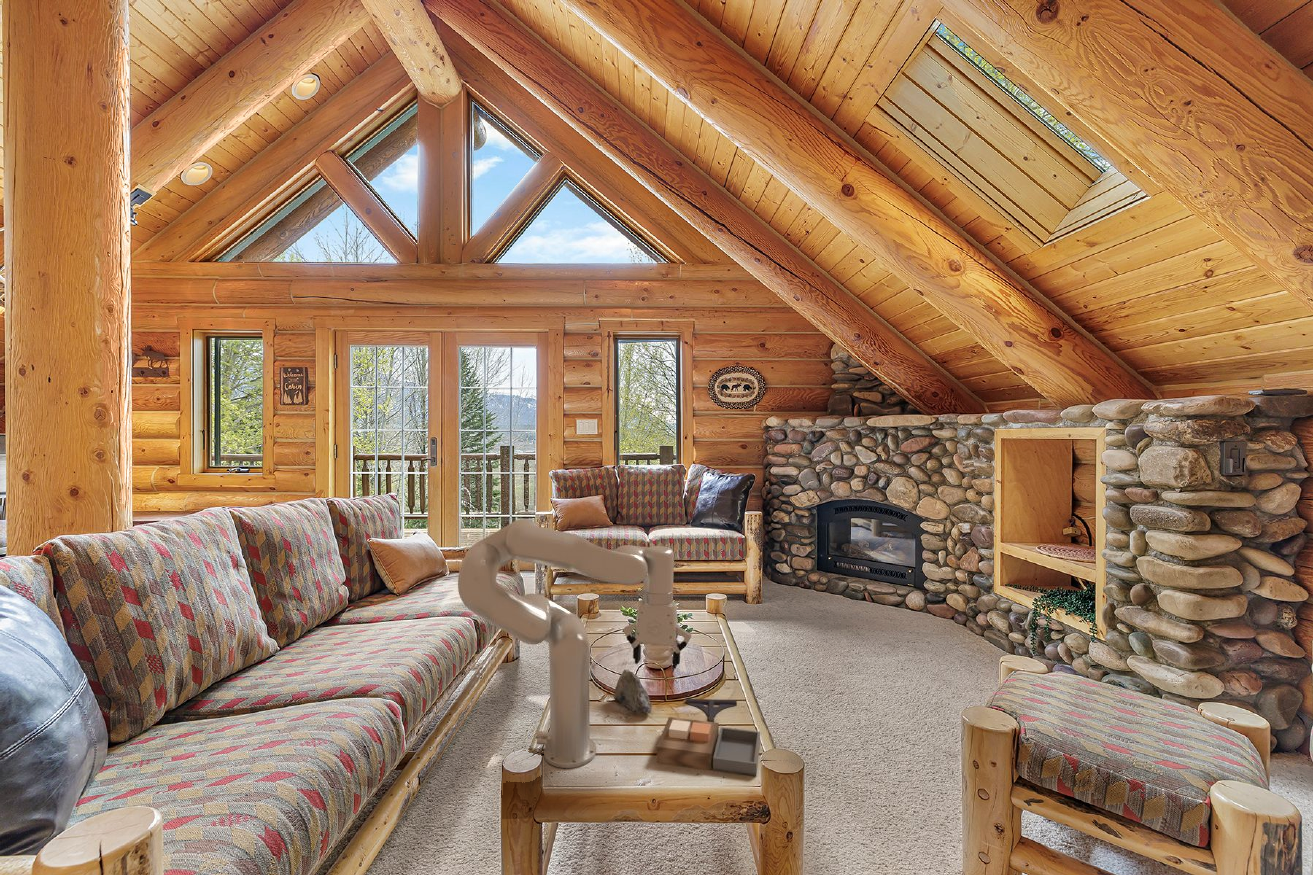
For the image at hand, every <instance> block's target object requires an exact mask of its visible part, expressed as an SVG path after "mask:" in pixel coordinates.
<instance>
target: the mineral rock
mask: <svg viewBox="0 0 1313 875" xmlns="http://www.w3.org/2000/svg"><path fill="white" fill-rule="evenodd" d="M614 688H615V689H614V695H613V699H614V701H615V702H619V703H620V704H621V705H622V706H624V707H626V708H627V709H630V711H633V712H641V713H646V714H651V713H652V707H653V706H652V703H651V701H650V697H649V694H648V691H646V689H645V688H644V687H643V685H642V683H641V679H640V678H639V676H638V675H636V674H635V673H634V672H633V671H630V670H629V669H624V670H623V671H622V672H621V674H620V676H619V678H618V679H617V683H616V685H615V687H614Z"/></svg>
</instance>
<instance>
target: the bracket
mask: <svg viewBox="0 0 1313 875" xmlns="http://www.w3.org/2000/svg"><path fill="white" fill-rule="evenodd" d="M685 705H688V706H691V707H695V708H697V709H700V710H701V711H703V713H705V714H706V716H707V717H708V720H709V721H708V722H715V717H717V715H718V713H720V712H721V711H723V710H725V709H729V708H733V707H736V706H737V705H738V701H737V699H736V700H735V699H711V698H710V699H706V698H705V699H704V698H700V699H699V698H685ZM706 705H708V706H706Z"/></svg>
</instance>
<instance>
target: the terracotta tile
mask: <svg viewBox="0 0 1313 875" xmlns="http://www.w3.org/2000/svg"><path fill="white" fill-rule="evenodd" d="M710 735H711V724H704V723H696V722H693V725H692V728H691V731H690V740H697V741H705V742H709V739H710Z"/></svg>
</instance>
